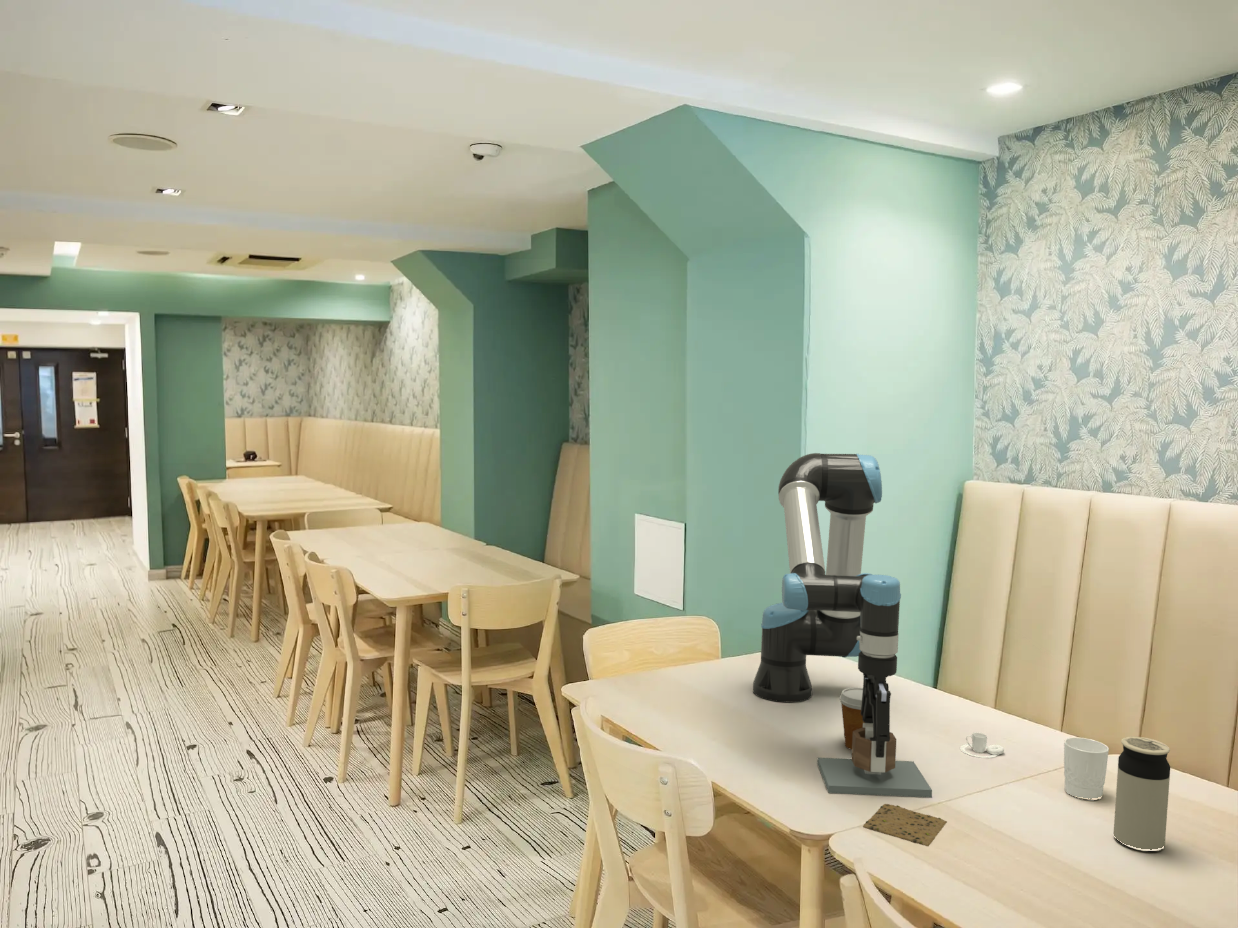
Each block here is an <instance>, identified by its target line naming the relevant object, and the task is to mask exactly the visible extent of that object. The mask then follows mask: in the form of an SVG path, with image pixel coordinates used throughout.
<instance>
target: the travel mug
mask: <svg viewBox="0 0 1238 928" xmlns="http://www.w3.org/2000/svg"><path fill="white" fill-rule="evenodd" d="M1120 742H1121V745H1122V748H1123V749H1122V751H1121V753H1120V754H1119V756H1118V758H1117V761H1118V762H1117V776H1116V789H1115V790H1116V791H1115V807H1114V809H1115V810H1114V821H1113V823H1114V824H1113V834H1114V836H1115V837H1116V839H1118V840H1119V841H1121V842H1122V843H1124V844H1126V845H1130V846H1133V847H1136V848H1141V849H1150V850H1152V849H1158V848H1162V847H1163V846H1164V845H1165V846H1166V834H1167V833H1166V832H1167V820H1168V806H1169V805H1168V804H1169V794H1170V793H1169V792H1170V791H1169V790H1170V780H1171V779H1170V778H1171V765H1170V764H1169V761H1168V759H1167V757H1168V754H1169V753H1170V751H1171V748H1170V747H1169V746H1168V745H1167V744H1165V743H1164V742H1161V741H1159V740H1156V739H1153V738H1149V737H1142V736H1126V737H1123V738H1122V739H1121V740H1120ZM1114 836H1113V837H1114ZM1116 839H1115V840H1116Z"/></svg>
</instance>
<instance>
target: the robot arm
mask: <svg viewBox="0 0 1238 928" xmlns="http://www.w3.org/2000/svg"><path fill="white" fill-rule="evenodd" d="M882 482H883V481H882V474H881V469H880V464H879V462H878V460H877V458H876V457H875V456H873V455H869V454H859V453H818V452H814V453H807V454H805V455H802V456H800V457H798V458H797V459H795V460H793V462H792V463H791V464H790V465H789V466H788V467H787V468H786V469H785V471H784V473H783V474H782V476H781V478H780V480H779V484H778V501H779V504H780V505H781V506H782V508H783V510H784V511H783V512H784V522H785V532H786V542H787V543H786V544H787V556H788V566H789V573H785V574H784V575H783V577H782V582H781V601H782V602H779V603H775V604H772V605H771V604H770V605H769V606H767V607H766V608H764V610H763V611H762V617H761V618H762V619H761V623H760V627H761V648H760V650H761V651H760V663H759V666H758V668H757V671H756V674H755V677H754V680H753V682H752V692H753V693H754V694H755V696H756V697H759V698H762V699H764V700H769V701H773V702H780V703H796V702H803V701H806V700H809V699H811V698H812V695H813V693H812V692H813V686H812V682H811V679H810V675H809V672H808V671H809V670H808V669H807V656H818V657H819V656H820V657H821V656H822V657H839V658H841V657H842V658H847V657H848V658H850V657H852V658H854V657H857V658H858V663H857V669H858V671H859V672H860V673H862V675H863V676H862V677H863V678H862V680H863V683H862V688H863V693H862V705H861V716H863V717H862V720H863V722H865V723H863V728H865V727H873V738H872V737H871V738H870V741H872V748H871V772H885V763H886V742H889V741H890V732H891V724H890V723H891V722H890V721H891V720H890V718H891V716H890V714H891V713H890V711H891V710H890V709H891V704H890V703H891V696H892V693H891V690H889V687H890V685H889V683H887V678H888V677H891V676H894V675H896V674H897V671H898V670H897V669H898V668H897V667H898V656H897V654H898V652H899V625H900V624H899V623H900V622H899V621H900V606H901V605H900V604H901V603H900V602H901V598H902V594H901V582H900V580H899V579H898V578H897V577H895V576H891V575H888V574H885V575H884V574H872V573H869V572H862V564H863V552H864V543H865V533H866V532H865V530H866V522H867V521H866V519H867V516H868V515H870V514H872V512H873V511H874V504H878V503H881V501H882V498H883V485H882ZM819 502H824V508H825V509H826V510H827V511H828V512H829V514H830V516H829V526H828V527H829V529H828V532H829V533H828V543H827V556H826V566H825V560H824V559H825V558H824V552H823V546H822V545H823V543H822V537H821V530H820V529H821V528H820V522H819V514H818V513H819V512H818V507H817V506H818V503H819Z"/></svg>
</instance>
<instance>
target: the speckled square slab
mask: <svg viewBox="0 0 1238 928" xmlns="http://www.w3.org/2000/svg"><path fill="white" fill-rule="evenodd" d="M879 807H880V808H878V810H876V812H875V813H874V814H873V815H872V816H871V817H870V818H869V819H868V820H866V821H865V823H863V825H862V827H863V829H866V830H867V829H868V830H870V831H874V832H877V833H880V834H884V835H887V836H891V837H895V838H897V839H900V840H904V841H908V842H911V843H915V844H918V845H922V846H925V847H929V846H930V845H931V844H932V843H933V841H934V840H935V839H936V837H937V836H938V835H939V834H940V832H941V831H942V829H943V828H944V826H946V824H947V823H948V821H947V820H945V819H942V818H941V817H936V816H933V815H931V814H925V813H921V812H919V811H917V812H916V811H913V810H911V809H907V808H905V807H902V806H900V805H894V804H890V803H884V804H883V805H881V806H879Z"/></svg>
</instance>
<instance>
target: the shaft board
mask: <svg viewBox="0 0 1238 928" xmlns="http://www.w3.org/2000/svg"><path fill="white" fill-rule="evenodd" d="M871 737H872V738H873V727H865V738H866V739H869V740H870V738H871ZM851 759H852V758H843V757H842V758H839V757H819V756H818V757H817V761H816V762H817V763H816V764H817V767H818V770H819V772H820V776H821V778H822V780H823V782H824V785H825V788H826V790H827V793H828V794H839V795H840V794H841V795H843V794H844V795H867V796H868V795H869V796H887V797H889V796H890V797H891V796H892V797H911V798H913V797H915V798H933V789H932V787H931V786H930V784H929V782H928V781H927V780H926V778H925V777H924V775H923V773H922V772H921V771H920V769H919V767H918V766H917V765H916V763H915V761H914V760H913V761H912V760H910V761H909V760H908V761H907V760H895V768H894V769H892V770H890V771H887V772H869V771H866V770H863V769H861V768H858V767H855V766H854V764H853V762H852V760H851Z"/></svg>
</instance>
